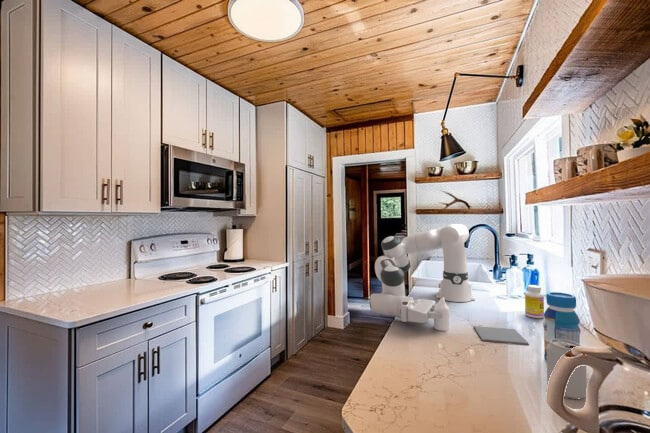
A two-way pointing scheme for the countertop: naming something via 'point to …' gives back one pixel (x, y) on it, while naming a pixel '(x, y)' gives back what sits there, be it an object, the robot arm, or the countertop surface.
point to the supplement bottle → (534, 302)
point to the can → (578, 378)
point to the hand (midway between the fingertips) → (444, 312)
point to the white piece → (444, 322)
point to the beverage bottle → (560, 319)
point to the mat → (500, 335)
